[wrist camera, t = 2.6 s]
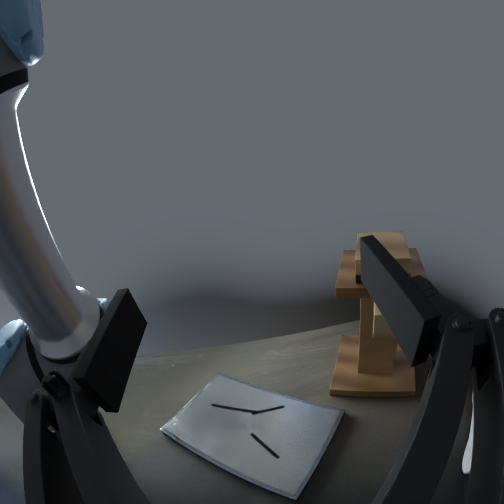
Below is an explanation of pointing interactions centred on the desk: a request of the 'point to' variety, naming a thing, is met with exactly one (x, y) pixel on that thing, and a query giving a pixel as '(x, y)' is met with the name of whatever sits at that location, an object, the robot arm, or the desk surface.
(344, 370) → the shelf stand
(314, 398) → the desk surface
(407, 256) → the eraser
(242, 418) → the whiteboard
